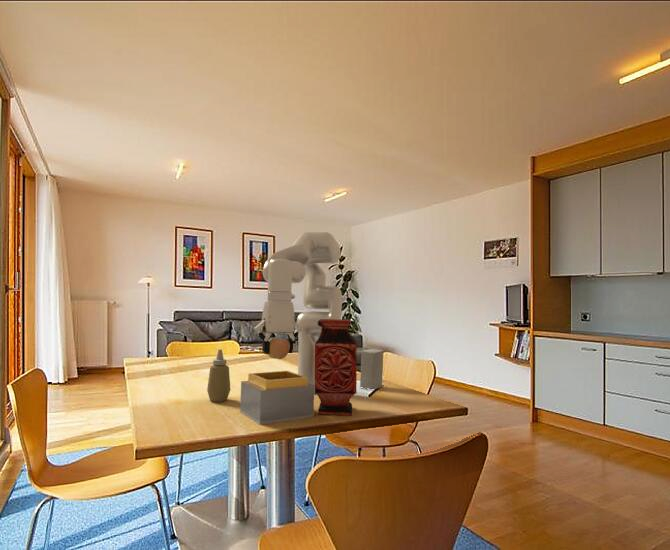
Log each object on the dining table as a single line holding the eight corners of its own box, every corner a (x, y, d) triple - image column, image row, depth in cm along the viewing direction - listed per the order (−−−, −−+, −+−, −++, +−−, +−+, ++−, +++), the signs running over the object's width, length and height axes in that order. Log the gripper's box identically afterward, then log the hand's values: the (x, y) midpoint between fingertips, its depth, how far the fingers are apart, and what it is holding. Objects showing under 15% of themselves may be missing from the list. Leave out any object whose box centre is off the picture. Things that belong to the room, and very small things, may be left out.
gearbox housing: (290, 405, 154) (291, 369, 155) (313, 416, 141) (314, 377, 142) (240, 412, 145) (241, 373, 145) (259, 424, 131) (261, 381, 132)
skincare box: (369, 385, 194) (370, 348, 195) (384, 387, 190) (384, 349, 190) (358, 388, 187) (359, 350, 188) (373, 390, 183) (374, 351, 184)
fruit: (261, 359, 141) (262, 333, 142) (272, 356, 148) (273, 332, 149) (283, 360, 139) (283, 334, 139) (293, 358, 146) (294, 333, 146)
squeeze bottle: (224, 403, 156) (225, 351, 157) (202, 402, 157) (204, 350, 158) (233, 398, 164) (235, 348, 164) (213, 397, 165) (214, 347, 166)
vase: (316, 405, 156) (318, 318, 157) (355, 406, 156) (357, 319, 157) (312, 416, 142) (315, 320, 144) (356, 417, 142) (358, 321, 143)
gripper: (298, 298, 153) (296, 350, 151) (249, 297, 143) (247, 353, 142) (308, 298, 146) (307, 353, 145) (258, 297, 137) (256, 355, 136)
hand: (277, 352), depth 144 cm, fingers closed on fruit, 7 cm apart
